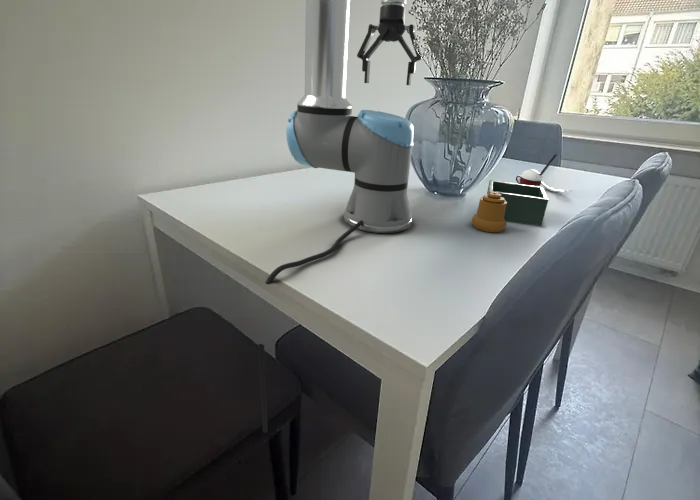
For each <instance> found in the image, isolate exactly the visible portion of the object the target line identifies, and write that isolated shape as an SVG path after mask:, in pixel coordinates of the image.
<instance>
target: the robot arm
mask: <svg viewBox="0 0 700 500" xmlns="http://www.w3.org/2000/svg"><path fill="white" fill-rule="evenodd" d="M380 5H381V6H380V7H379V23H378V24H377V25H373V24H372V23H370V24H368V27H367V28H368V29H367V33H366V35H365V38H364V39H363V41H362V43H361V46H360V48H359V50H358V52H357V54H356V57H357V58H358V59H361V61H362V62H361V63H362V65H361V71H362V72H364V82H363V83H364V84H370V74H371V60H369V59H370V58H371V57H372V55H373V54H374V53H375V52H376V50H378V48H379V47H380V45H382V44H383V42H385V43H389V42H391V43H396V42H398V43H399V45H401V47H402V48H403V50H404V52H405V53H406V55H407V56H408V58H409V60H410V61H408V63H407V74H406V82H405V84H406V86H411V83H412V74H415V73H416V67H417V62H418V61H422V60H423V58H422V57H423V54H422V51H421V48H420V47H419V49H418V52H419V54H420V55H422V57H421V56H420V55H419V54H418V53H417V51H416V49H415V47H414V45H413V39H415V38H416V39H417V36H416V27H415V25H414V24H409V25H406V23H405V21H406V11H407V9H406V7H405V6H406V5H407V0H380ZM350 13H351V0H305V27H304V28H305V31H304V32H305V33H304V35H305V37H304V38H305V39H304V40H305V41H304V42H305V43H304V45H305V47H304V95H303V96H302V97H301V98H300V99H299V100H298V102H297V103H296V104H297V109H296V110H295V111H292V112H291V113H290V114H289V117H288V119H287V124H286V129H285V130H286V136H285V137H286V142H287V147H288V150H289V153H290V155H291V156H292V158H293V159H294V160H295V162H296V163H298V164H299V165H302V166H306V167H310V168H313V169H325V170H331V171H340V172H347V173H348V172H349V173H354V185H353V188H352V191H351V194H350V196H349V199H348V201H347V204H346V207H345V209H344V216H343V218H344V222H345V223H346V224H347V225H348V226H350V228H348V230H347V231H345V232H344V233H343V234H341V235H340V236H339V237H338V239H337V240H336V241H335V242H334V244H333V245H331V247H330V248H328V249H326V250H325V251H323V252H320V253H317V254H314V255H311V256H308V257H305V258H303V259H299V260H298V261H297V260H296V261H291V262H287V263H284V264H281V265H279V266H277V267H276V268H275V269H273V271H272V272H271V273H270V274H269V276H268V277H267V279H266V280H265V284H266V285H270V284H272V283H273V281H274V280H275V279H276V278H277V276H278V275H279V274H280V273H282V272H283V271H285V270H288V269H292V268H296V267H300V266H303V265H305V264H309V263H310V262H314V261H316V260H321V259H323V258H325V257H327V256H329V255H331V254H332V253H334V252H335V251H336V250H337V249H338V247H339V245H340V244H341V243H342V242H343V241H344V240H345V239H346V238H347V237H349V236H350V235H351V234H352V233H354V231H356V230H360V231H364V232H368V233H375V234H394V233H399V232H403V231H406V230H408V229H409V228H410V227H411V226H412V222H413V220H412V219H413V215H412V214H413V213H412V210H411V209H412V208H411V204H410V199H409V194H408V186H409V178H410V169H411V163H412V152H413V148H414V145H415V144H414V133H415V132H414V129H415V127H414V125H413V123H412V122H411V121H410V120H409V119H407V118H406V117H403V116H400V115H397V114H393V113H390V112H389V113H388V112H384V111H379V110H371V109H360V111H359V112H358V114H357V116H355V115H354V116H353V115H352V114H353V106H352V104H351V103H350V102H349V100H348V99H347V97H346V92H347V74H348V73H347V71H348V53H349V34H350V31H349V30H350V16H351V15H350ZM377 32H378V33H379V35H378V36H377V37H376V39H375V40H374V42H373V43H372V44H371V45H370V43H371V42H372V40H373V39H372V38H373V37H374V34H376V33H377ZM405 32H406V33H407V34H408V35H409V37H410V40H411V44H412V46H413V49H414V52H415V54H414V53H413V52H412V50H411V48H410V47H409V45H408V43H407V42H406V40H405V39H404V37H403V35H404V33H405ZM369 45H370V46H369ZM368 47H369V48H368ZM415 55H416V56H415ZM258 371H259V373H258V374H259V386H260V387H259V388H260V400H261V402H260V403H261V416H262V433H264V434H266V433H268V408H267V406H268V404H267V403H268V402H267V390H266V375H265V374H266V372H265V344H262V343H258Z"/></svg>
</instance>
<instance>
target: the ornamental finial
mask: <svg viewBox="0 0 700 500" xmlns="http://www.w3.org/2000/svg"><path fill="white" fill-rule="evenodd" d="M506 204H507V202H506V201H505V199H504V198H503V197H501V194H499V193H495V192H490V193H488V195H487V194H484V195H483V196H482V197H480V198H479V202H478V206H477V210H476V214H474V215H473V216H472V218H471V224H472V226H473V228H474V229H476V230H479V231H481V232H484V233H492V234H493V233H494V234H495V233H501V232H502V231H504V230H505V228H506V227H507V221H505V219H504V215H505V210H506Z"/></svg>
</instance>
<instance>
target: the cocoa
mask: <svg viewBox="0 0 700 500" xmlns="http://www.w3.org/2000/svg"><path fill="white" fill-rule="evenodd" d="M557 157H558V154H554V155H553V156H552V158H551V159H550V160H549V162H548V163H546V165H545V166H544V168H543V169H542V170H541V172H539V171H538V170H537V169H534V168H530V169H527V170H523V171H522V173H521V175H516V177H515V181H516V184H522V185H530V186H538V187H541V186H542V184H541V182H543V179H544V173H545V172H546V171H547V170H548V168H549V167H550V166H551V165H552V163H553V162H554V161H555V160H556V158H557ZM518 179H519V180H518Z"/></svg>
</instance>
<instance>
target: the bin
mask: <svg viewBox="0 0 700 500" xmlns="http://www.w3.org/2000/svg"><path fill="white" fill-rule="evenodd" d="M490 192H495V193H499V194H501V197H503V198H504V199H505V201H506V202H507V204H506V210H505V215H504V219H505V221H506V222H510V223H511V222H512V223H516V224H524V225H530V226H537V227H542V224H543V221H544V217H545V213H546V212H547V211H546V210H547V207H548V203H549V197H548V195H547V193H546V190H545V187H544V186H539V187H538V186H530V185H522V184H518V183H515V182H506V181H498V180H491V179H489V182H488V186H487V191H486V195H488V193H490Z"/></svg>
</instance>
